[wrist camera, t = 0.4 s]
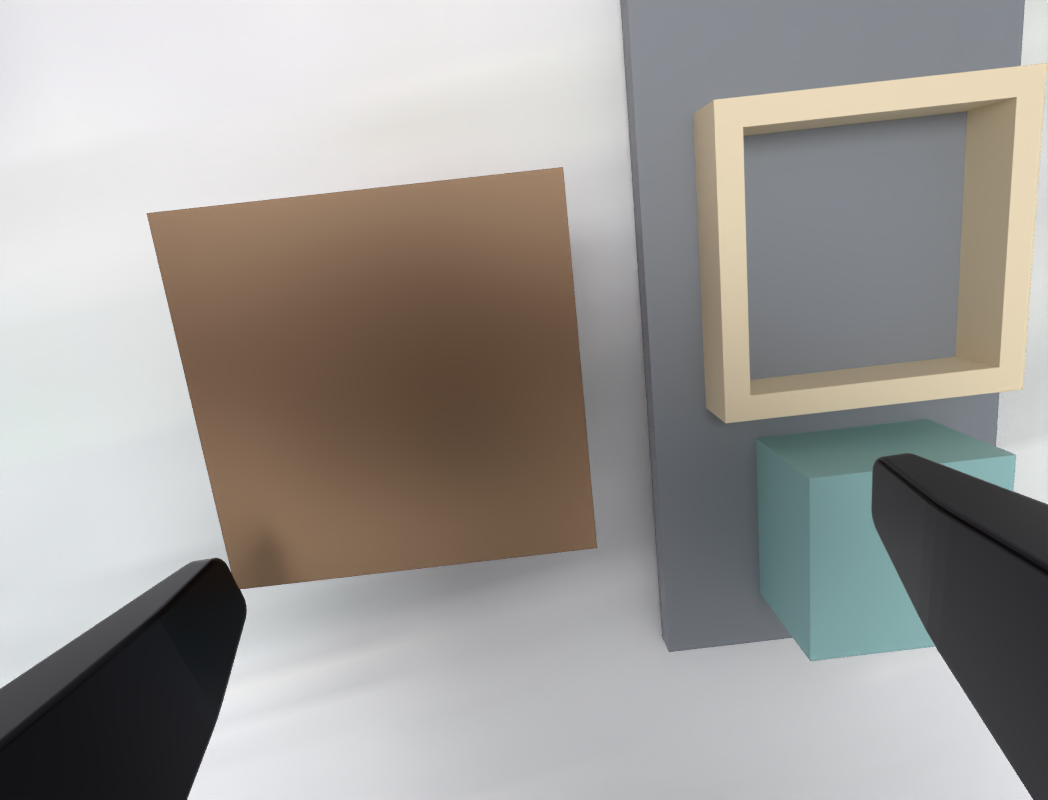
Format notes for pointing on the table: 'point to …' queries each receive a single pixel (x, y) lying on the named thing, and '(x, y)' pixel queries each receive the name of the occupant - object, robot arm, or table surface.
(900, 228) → the board
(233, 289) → the pillar
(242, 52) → the table surface
